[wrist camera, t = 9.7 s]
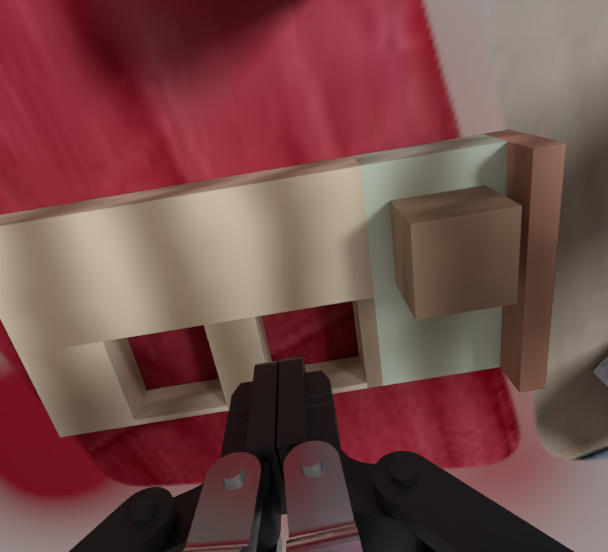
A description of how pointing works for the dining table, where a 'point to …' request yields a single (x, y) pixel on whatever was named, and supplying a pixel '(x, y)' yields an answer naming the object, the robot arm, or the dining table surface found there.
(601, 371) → the medicine box
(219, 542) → the robot arm
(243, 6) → the dining table surface
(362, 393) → the dining table surface
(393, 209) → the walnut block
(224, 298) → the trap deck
